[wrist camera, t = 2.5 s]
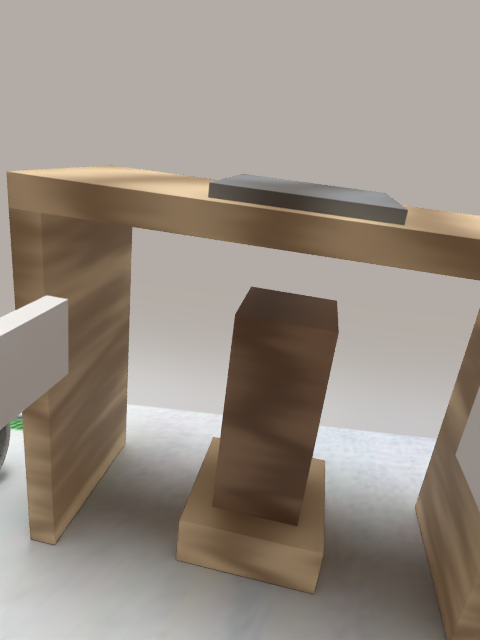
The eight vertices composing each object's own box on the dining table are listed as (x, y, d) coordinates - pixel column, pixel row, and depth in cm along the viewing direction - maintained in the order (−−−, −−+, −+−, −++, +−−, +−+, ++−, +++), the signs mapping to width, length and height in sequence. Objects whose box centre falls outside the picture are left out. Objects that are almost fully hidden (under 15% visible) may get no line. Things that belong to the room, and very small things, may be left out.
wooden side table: (436, 511, 33) (541, 212, 25) (479, 652, 23) (665, 247, 16) (107, 439, 36) (111, 155, 28) (30, 539, 27) (5, 156, 19)
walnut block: (302, 469, 31) (337, 300, 26) (297, 526, 26) (338, 332, 22) (229, 454, 31) (251, 286, 27) (211, 506, 27) (235, 314, 22)
